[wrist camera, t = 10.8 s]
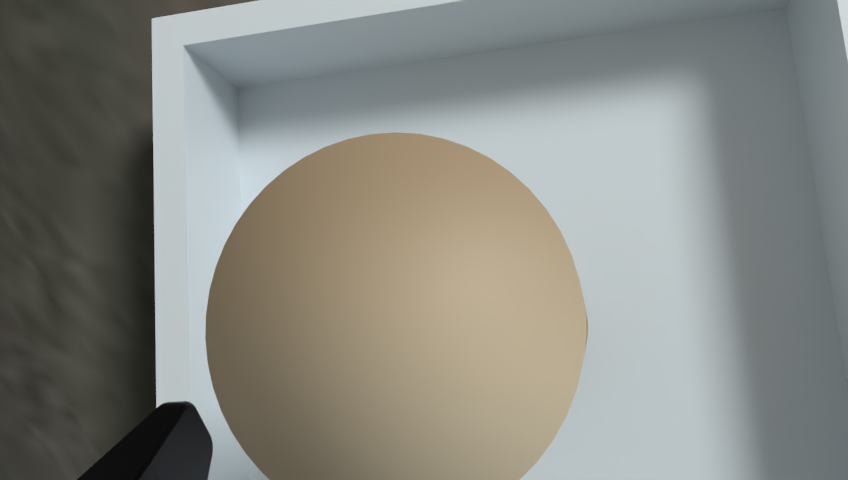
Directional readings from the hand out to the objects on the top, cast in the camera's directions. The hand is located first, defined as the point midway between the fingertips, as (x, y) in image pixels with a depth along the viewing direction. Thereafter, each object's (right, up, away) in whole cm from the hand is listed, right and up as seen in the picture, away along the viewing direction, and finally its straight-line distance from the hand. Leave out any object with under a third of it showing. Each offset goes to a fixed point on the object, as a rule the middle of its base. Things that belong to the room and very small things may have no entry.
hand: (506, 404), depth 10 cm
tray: (+1, 0, +8) cm, 8 cm away
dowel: (+1, 0, +8) cm, 8 cm away
